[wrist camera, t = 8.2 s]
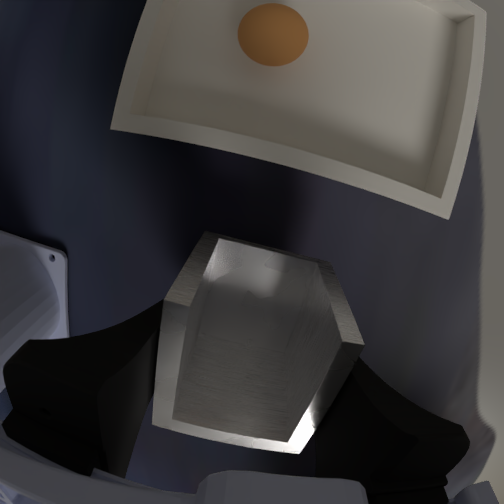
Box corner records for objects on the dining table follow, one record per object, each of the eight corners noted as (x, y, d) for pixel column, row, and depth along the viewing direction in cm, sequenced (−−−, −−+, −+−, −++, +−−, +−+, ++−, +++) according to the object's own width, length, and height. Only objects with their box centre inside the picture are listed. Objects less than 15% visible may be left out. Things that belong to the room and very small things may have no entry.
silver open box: (185, 334, 16) (152, 424, 10) (205, 230, 14) (163, 299, 8) (292, 359, 16) (299, 453, 10) (330, 262, 14) (364, 345, 8)
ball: (260, -17, 9) (269, -1, 12) (215, 38, 11) (232, 45, 13) (324, 24, 10) (321, 34, 12) (277, 79, 11) (283, 79, 14)
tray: (131, 130, 15) (110, 129, 12) (193, -59, 11) (184, -82, 9) (425, 208, 16) (448, 219, 13) (464, 22, 12) (486, 11, 9)
